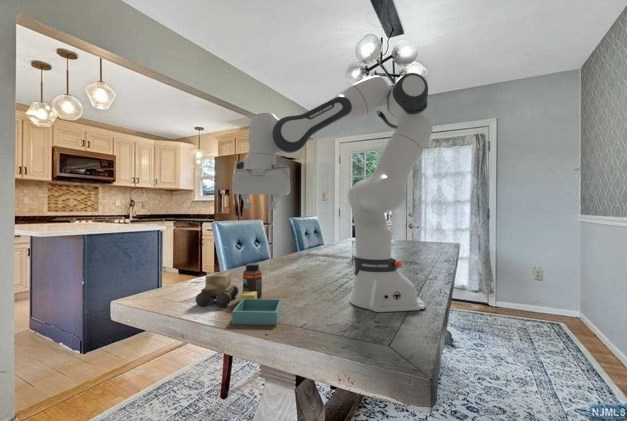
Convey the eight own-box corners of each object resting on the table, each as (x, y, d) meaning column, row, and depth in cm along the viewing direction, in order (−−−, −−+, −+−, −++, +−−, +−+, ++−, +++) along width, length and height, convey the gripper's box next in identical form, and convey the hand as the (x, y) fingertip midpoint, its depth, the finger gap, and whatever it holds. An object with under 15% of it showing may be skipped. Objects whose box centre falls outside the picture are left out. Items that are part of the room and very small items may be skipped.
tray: (281, 310, 87) (282, 299, 87) (276, 324, 76) (277, 312, 76) (242, 309, 87) (243, 298, 87) (232, 324, 76) (232, 311, 76)
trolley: (238, 296, 99) (238, 271, 99) (229, 306, 89) (229, 278, 89) (208, 296, 100) (208, 270, 100) (195, 306, 89) (195, 277, 89)
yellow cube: (256, 304, 92) (257, 291, 92) (254, 309, 88) (254, 295, 88) (243, 304, 92) (243, 291, 92) (240, 308, 88) (240, 295, 88)
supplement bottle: (263, 297, 100) (264, 262, 100) (258, 302, 94) (259, 265, 94) (246, 296, 100) (246, 262, 100) (239, 301, 94) (240, 265, 94)
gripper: (295, 166, 95) (293, 210, 95) (242, 167, 104) (240, 208, 104) (285, 162, 90) (283, 209, 90) (229, 164, 98) (228, 207, 98)
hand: (259, 208), depth 97 cm, fingers open, 8 cm apart
